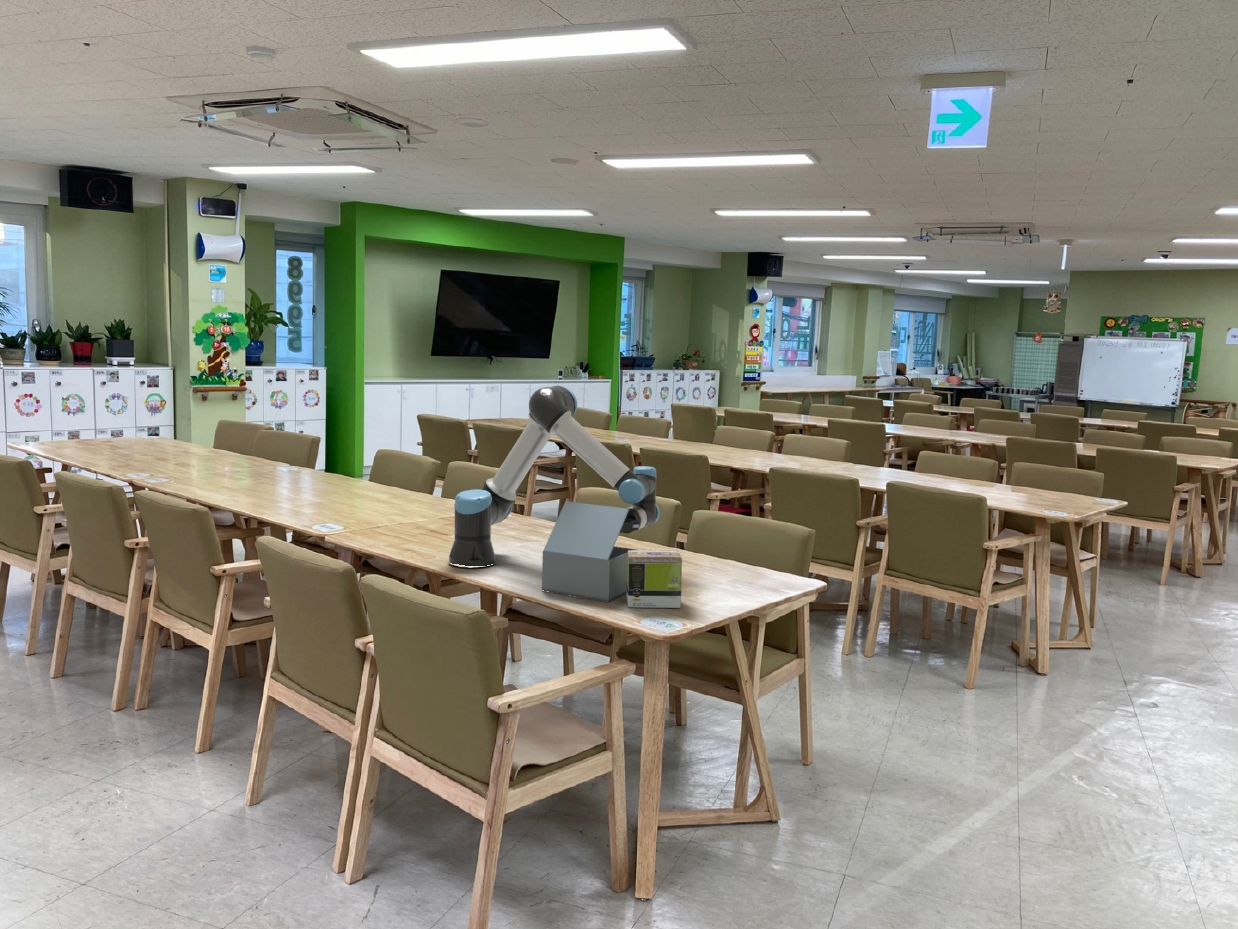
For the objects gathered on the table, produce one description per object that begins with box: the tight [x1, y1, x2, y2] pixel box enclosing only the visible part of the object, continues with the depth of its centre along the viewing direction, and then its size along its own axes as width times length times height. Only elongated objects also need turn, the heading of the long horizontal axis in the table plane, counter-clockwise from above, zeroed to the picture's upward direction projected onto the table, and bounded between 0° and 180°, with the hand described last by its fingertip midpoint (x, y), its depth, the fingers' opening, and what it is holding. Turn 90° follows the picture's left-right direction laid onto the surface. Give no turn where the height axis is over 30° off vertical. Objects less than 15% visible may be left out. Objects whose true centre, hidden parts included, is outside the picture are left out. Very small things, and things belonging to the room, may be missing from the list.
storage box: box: [541, 545, 638, 603], centre depth 280 cm, size 22×18×12 cm
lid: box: [543, 500, 629, 561], centre depth 275 cm, size 21×18×1 cm
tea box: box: [625, 549, 683, 609], centre depth 267 cm, size 15×10×15 cm, turn 92°
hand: (595, 532), depth 276 cm, fingers closed
